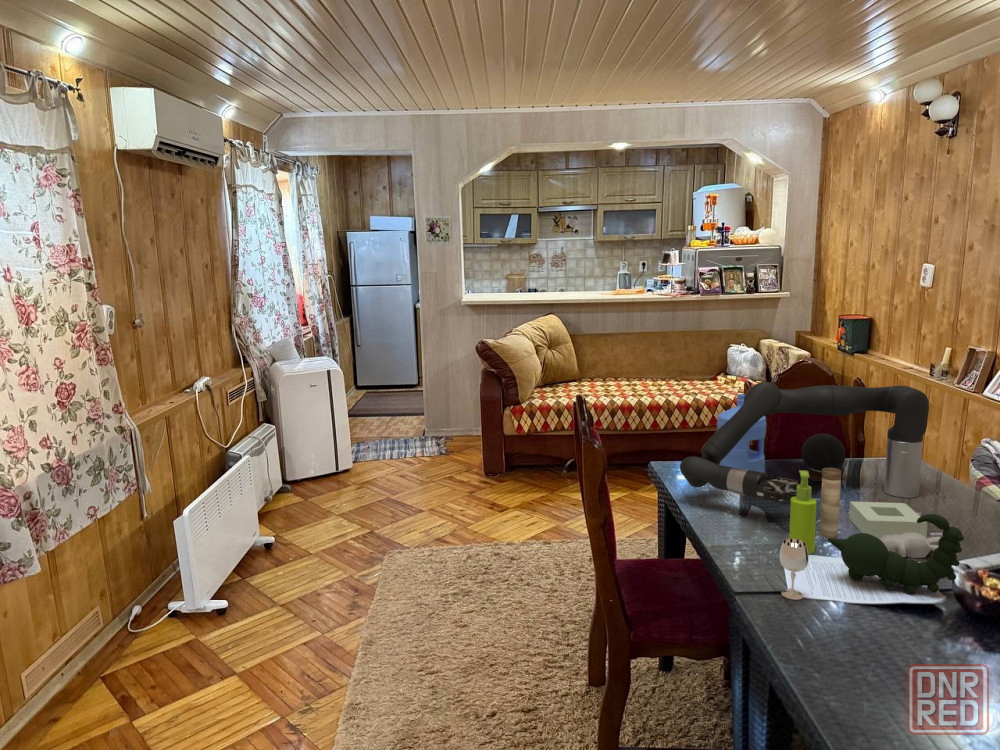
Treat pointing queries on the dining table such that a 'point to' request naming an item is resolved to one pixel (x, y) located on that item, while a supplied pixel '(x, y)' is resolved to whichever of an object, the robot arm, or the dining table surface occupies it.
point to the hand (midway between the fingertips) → (805, 494)
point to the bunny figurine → (910, 544)
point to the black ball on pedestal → (822, 454)
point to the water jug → (745, 442)
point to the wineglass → (793, 563)
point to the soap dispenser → (803, 514)
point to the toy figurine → (901, 558)
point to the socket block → (885, 518)
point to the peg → (830, 502)
